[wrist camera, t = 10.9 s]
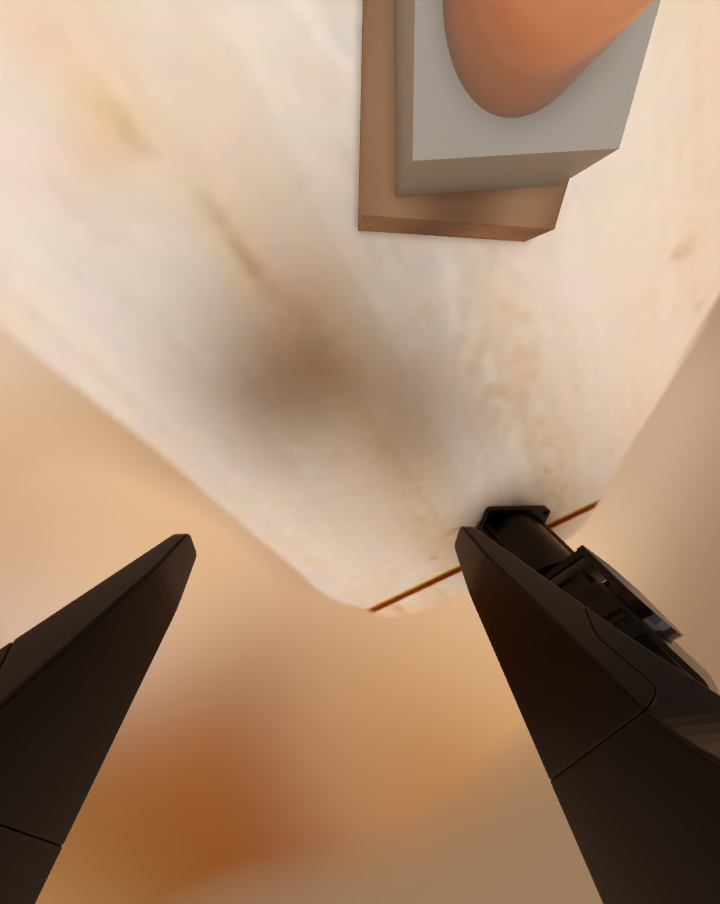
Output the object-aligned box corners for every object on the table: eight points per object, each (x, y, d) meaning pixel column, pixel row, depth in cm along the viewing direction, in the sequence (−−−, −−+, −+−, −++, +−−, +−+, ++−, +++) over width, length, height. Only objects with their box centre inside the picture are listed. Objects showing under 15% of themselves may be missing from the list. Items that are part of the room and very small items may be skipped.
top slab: (626, -139, 9) (755, -344, 6) (557, 185, 12) (618, 148, 10) (392, -136, 8) (420, -353, 6) (395, 196, 12) (412, 160, 9)
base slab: (589, -43, 11) (668, -157, 8) (517, 244, 16) (554, 229, 13) (363, -84, 10) (373, -226, 8) (357, 233, 15) (362, 214, 12)
